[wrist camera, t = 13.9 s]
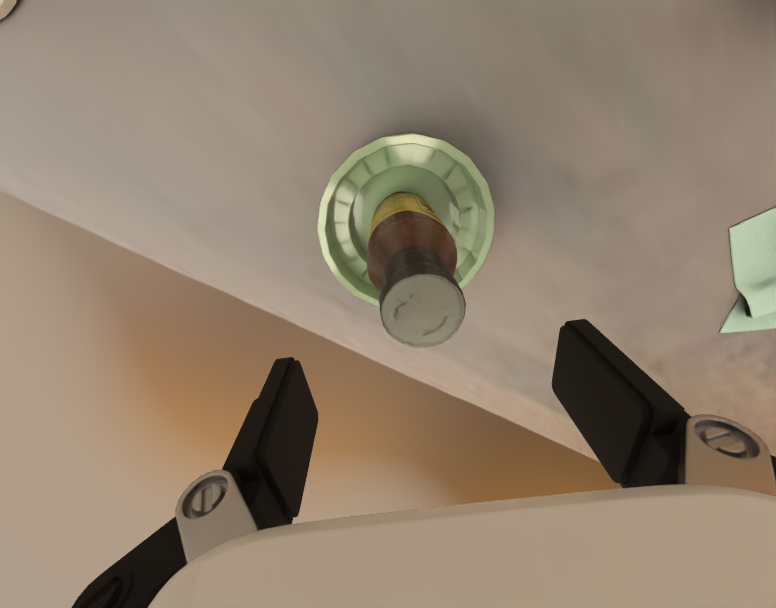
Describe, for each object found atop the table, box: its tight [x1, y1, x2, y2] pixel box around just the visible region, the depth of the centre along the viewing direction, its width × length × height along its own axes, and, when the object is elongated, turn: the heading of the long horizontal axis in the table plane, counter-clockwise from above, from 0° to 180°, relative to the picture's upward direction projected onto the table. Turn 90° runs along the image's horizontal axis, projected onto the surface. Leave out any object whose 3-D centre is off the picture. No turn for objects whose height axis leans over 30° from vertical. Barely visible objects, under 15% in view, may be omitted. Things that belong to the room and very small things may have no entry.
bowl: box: [317, 133, 495, 307], centre depth 30 cm, size 15×15×6 cm
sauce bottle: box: [367, 192, 466, 348], centre depth 23 cm, size 6×6×20 cm
